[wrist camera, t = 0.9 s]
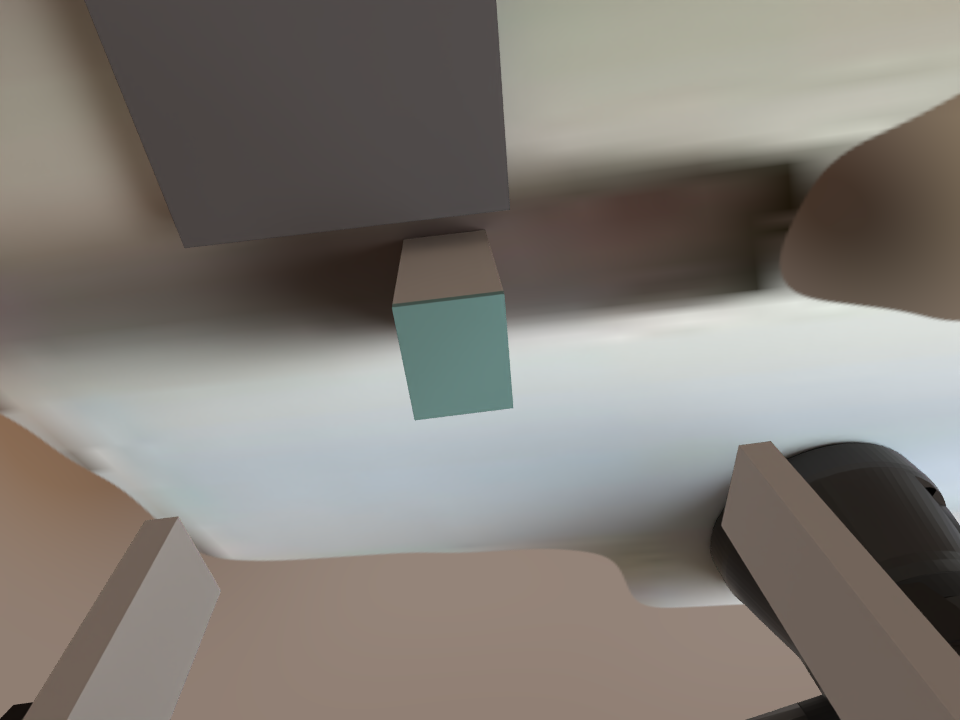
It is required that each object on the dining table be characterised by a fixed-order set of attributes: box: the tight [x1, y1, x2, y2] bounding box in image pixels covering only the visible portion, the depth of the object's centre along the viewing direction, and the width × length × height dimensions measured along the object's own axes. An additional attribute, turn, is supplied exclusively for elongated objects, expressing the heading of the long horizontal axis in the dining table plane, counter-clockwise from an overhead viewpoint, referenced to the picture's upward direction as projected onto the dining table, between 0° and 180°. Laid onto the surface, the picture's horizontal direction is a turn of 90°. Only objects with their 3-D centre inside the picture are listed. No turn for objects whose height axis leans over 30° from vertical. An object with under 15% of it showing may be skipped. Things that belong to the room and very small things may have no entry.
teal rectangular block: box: [392, 230, 513, 420], centre depth 23 cm, size 5×4×8 cm
